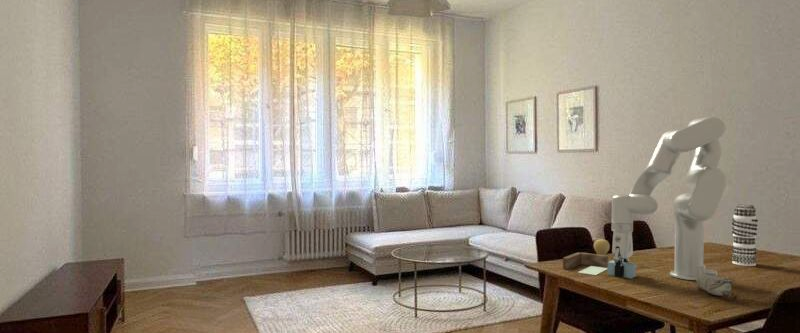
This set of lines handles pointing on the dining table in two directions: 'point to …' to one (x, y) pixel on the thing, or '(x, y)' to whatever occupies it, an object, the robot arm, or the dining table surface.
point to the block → (628, 269)
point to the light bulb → (601, 246)
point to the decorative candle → (744, 235)
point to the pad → (593, 270)
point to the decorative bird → (715, 285)
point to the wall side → (594, 259)
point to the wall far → (572, 261)
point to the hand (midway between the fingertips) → (621, 274)
